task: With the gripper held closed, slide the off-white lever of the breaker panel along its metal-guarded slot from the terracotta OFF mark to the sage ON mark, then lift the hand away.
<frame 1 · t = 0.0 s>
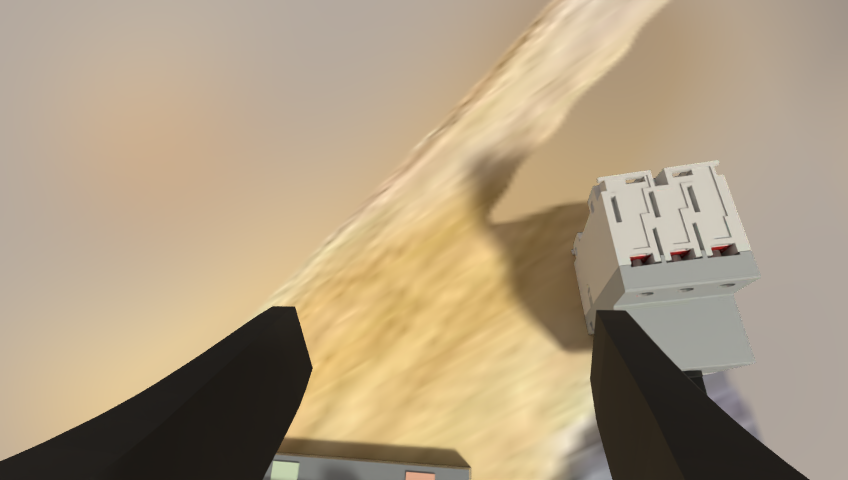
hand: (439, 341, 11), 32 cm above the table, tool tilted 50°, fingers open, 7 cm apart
circuit breaker: (628, 319, 41), on the table
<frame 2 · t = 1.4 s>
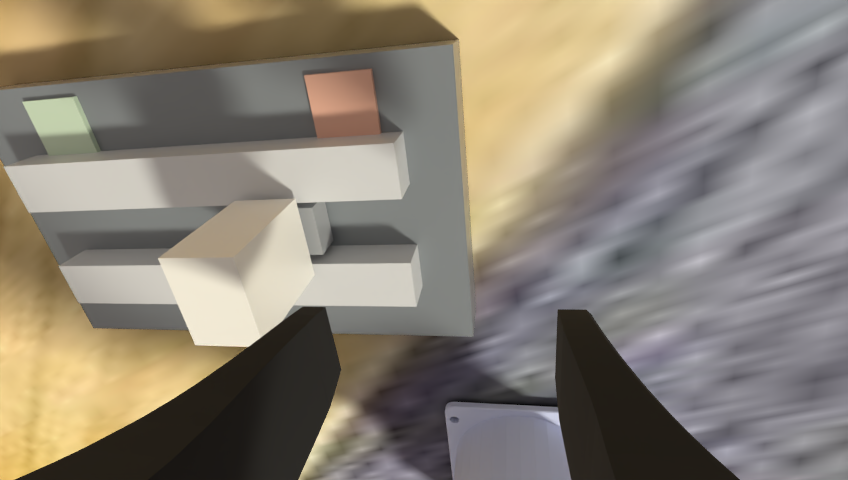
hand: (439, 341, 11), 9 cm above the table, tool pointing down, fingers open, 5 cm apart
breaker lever: (260, 255, 16), point 5 cm above the table, slide at 0.0 cm
breaker panel: (252, 201, 21), on the table
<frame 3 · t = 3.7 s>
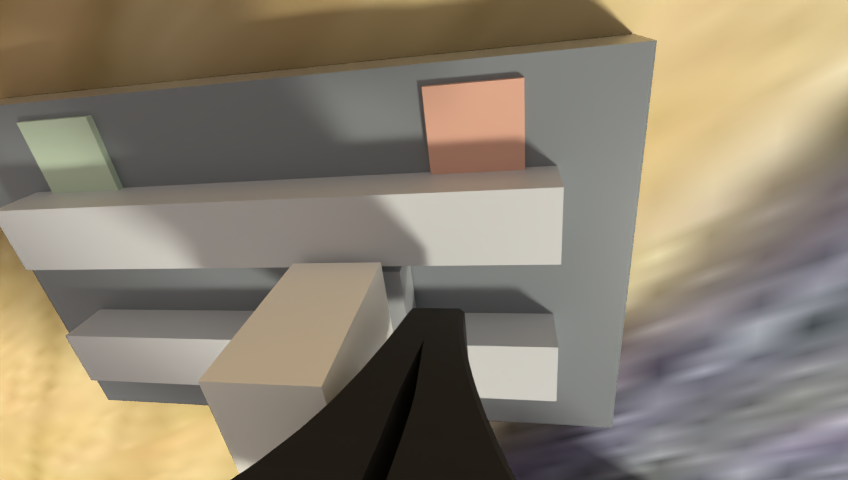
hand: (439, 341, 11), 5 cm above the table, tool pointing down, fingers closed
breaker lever: (332, 343, 11), point 5 cm above the table, slide at 0.6 cm, touching gripper
breaker panel: (317, 247, 16), on the table
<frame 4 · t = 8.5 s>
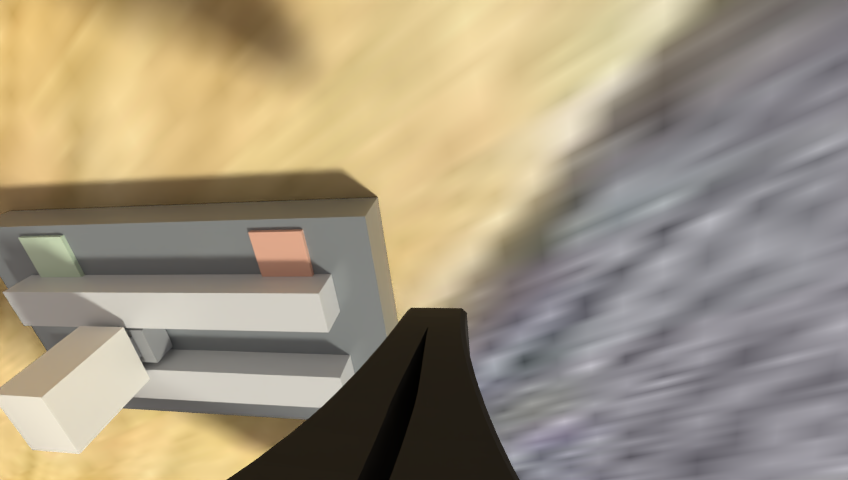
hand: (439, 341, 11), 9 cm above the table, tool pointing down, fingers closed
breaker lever: (95, 371, 21), point 5 cm above the table, slide at 6.0 cm
breaker panel: (216, 306, 24), on the table
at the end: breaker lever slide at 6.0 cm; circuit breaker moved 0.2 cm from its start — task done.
